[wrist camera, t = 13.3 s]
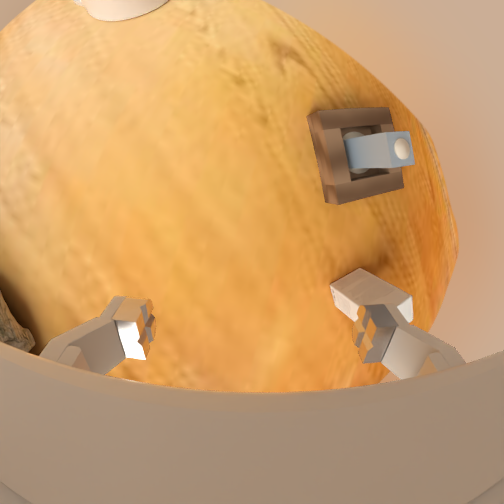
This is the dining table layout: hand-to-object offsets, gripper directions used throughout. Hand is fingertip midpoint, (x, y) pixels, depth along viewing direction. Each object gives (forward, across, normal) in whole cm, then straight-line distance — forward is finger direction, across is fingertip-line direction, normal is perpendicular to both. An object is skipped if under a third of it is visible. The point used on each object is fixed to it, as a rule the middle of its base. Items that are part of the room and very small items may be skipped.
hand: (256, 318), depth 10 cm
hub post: (+28, -14, -6) cm, 32 cm away
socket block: (+29, -14, -6) cm, 33 cm away
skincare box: (+27, -15, +14) cm, 34 cm away
